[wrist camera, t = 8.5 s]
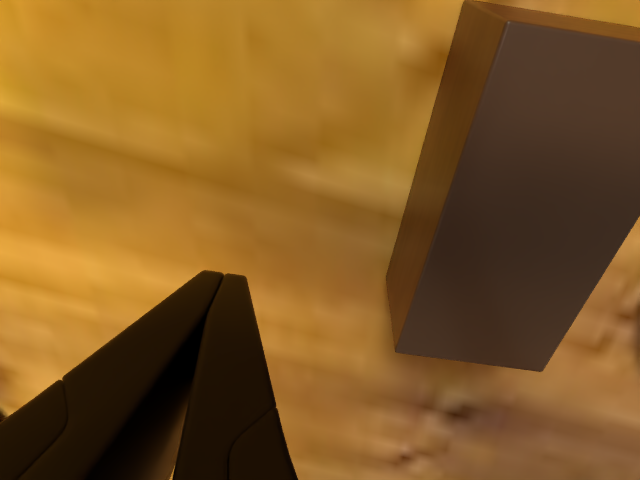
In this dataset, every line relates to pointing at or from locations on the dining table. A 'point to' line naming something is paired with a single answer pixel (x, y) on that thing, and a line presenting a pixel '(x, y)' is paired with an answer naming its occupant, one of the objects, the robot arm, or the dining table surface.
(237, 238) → the dining table surface
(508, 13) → the block
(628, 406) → the dining table surface
